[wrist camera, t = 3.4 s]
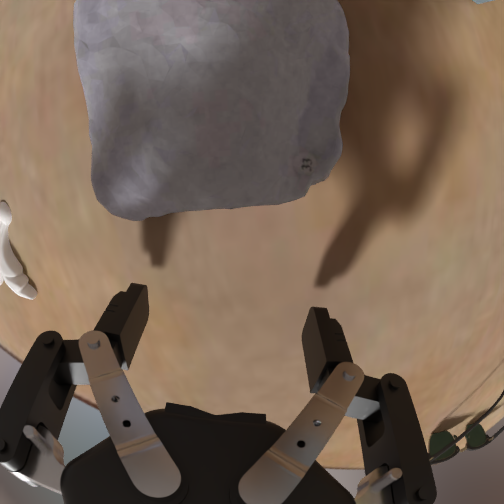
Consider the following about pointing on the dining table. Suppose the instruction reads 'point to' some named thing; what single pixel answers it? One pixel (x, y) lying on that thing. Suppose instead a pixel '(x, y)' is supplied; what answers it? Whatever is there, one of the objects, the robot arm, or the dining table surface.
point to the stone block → (210, 100)
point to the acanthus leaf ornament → (11, 260)
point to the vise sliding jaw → (481, 1)
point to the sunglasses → (445, 445)
